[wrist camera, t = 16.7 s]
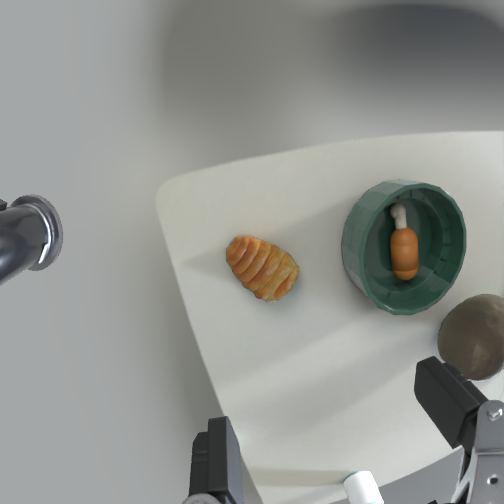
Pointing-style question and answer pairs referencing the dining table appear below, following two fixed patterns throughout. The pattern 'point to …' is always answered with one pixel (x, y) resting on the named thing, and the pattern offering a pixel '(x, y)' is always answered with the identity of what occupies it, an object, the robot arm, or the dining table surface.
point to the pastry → (262, 267)
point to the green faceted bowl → (429, 245)
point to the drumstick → (403, 246)
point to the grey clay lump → (474, 337)
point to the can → (362, 489)
